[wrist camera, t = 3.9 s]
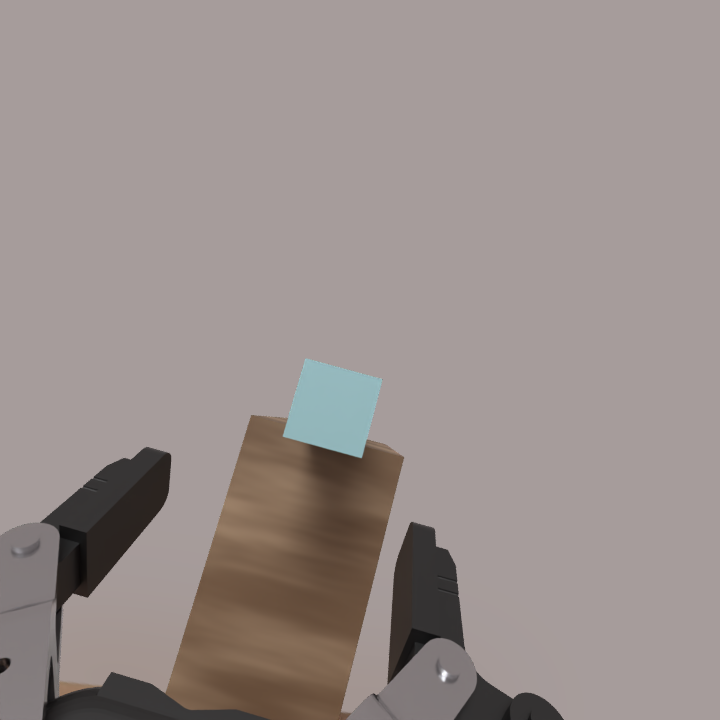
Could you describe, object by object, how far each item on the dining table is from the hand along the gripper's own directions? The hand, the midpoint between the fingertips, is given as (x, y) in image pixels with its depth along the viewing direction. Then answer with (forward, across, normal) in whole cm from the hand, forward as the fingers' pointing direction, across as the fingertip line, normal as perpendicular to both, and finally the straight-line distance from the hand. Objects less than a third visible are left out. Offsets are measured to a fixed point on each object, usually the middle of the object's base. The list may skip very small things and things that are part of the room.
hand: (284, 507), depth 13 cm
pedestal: (+3, 0, +36) cm, 37 cm away
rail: (+14, 0, +6) cm, 16 cm away
